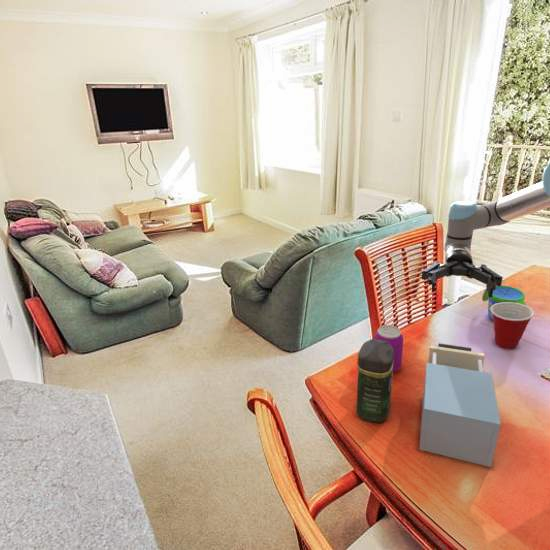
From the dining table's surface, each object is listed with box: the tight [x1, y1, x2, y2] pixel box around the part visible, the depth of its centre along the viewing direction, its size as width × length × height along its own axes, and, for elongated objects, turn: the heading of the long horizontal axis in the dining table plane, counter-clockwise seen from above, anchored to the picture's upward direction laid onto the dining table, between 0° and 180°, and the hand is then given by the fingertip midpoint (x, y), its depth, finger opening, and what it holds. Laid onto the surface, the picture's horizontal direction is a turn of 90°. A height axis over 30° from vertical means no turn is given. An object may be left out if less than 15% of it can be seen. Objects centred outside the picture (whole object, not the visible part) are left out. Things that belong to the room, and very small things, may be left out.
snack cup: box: [481, 284, 527, 322], centre depth 124 cm, size 16×10×10 cm
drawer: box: [427, 342, 486, 372], centre depth 94 cm, size 20×13×10 cm, turn 158°
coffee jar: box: [355, 338, 394, 423], centre depth 90 cm, size 10×8×19 cm
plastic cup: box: [490, 302, 535, 350], centre depth 111 cm, size 11×11×12 cm
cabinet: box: [419, 362, 502, 468], centre depth 83 cm, size 16×14×12 cm
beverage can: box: [374, 324, 404, 373], centre depth 106 cm, size 8×8×12 cm
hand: (461, 290), depth 98 cm, fingers open, 13 cm apart
